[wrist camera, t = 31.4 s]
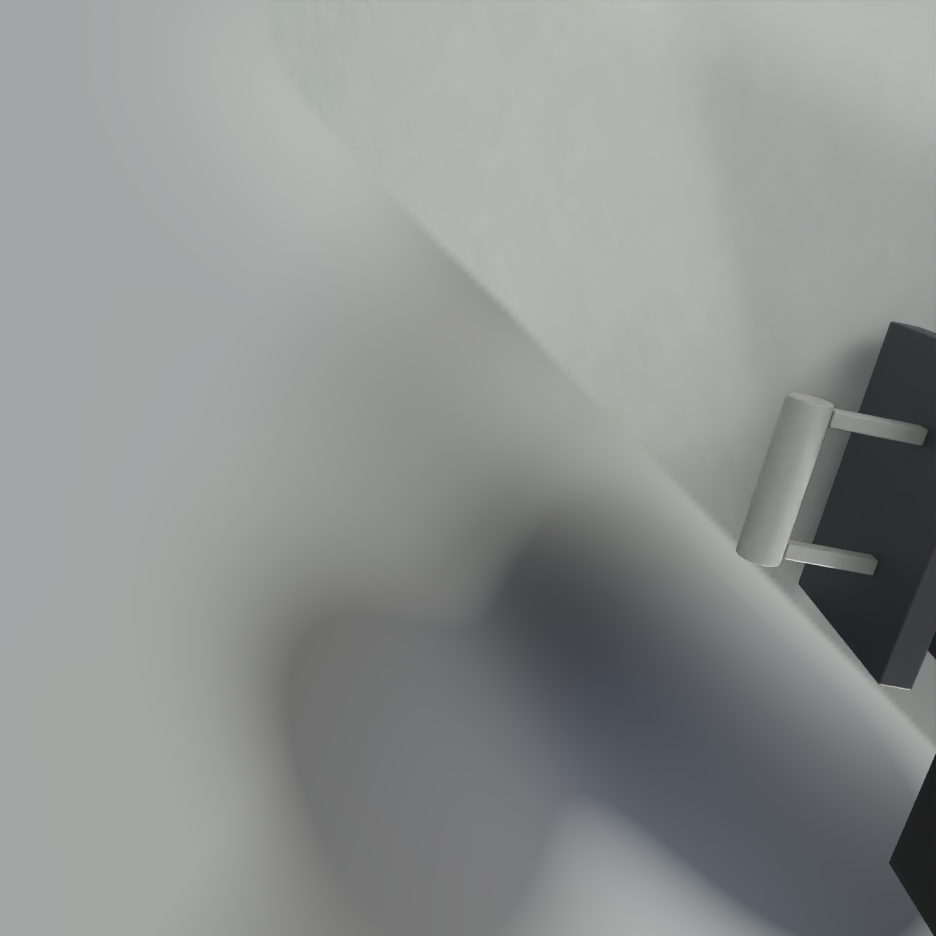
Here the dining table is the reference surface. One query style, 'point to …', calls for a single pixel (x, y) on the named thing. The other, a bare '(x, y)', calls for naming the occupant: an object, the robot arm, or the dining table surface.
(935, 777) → the robot arm
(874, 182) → the dining table surface
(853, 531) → the pulled-out drawer
